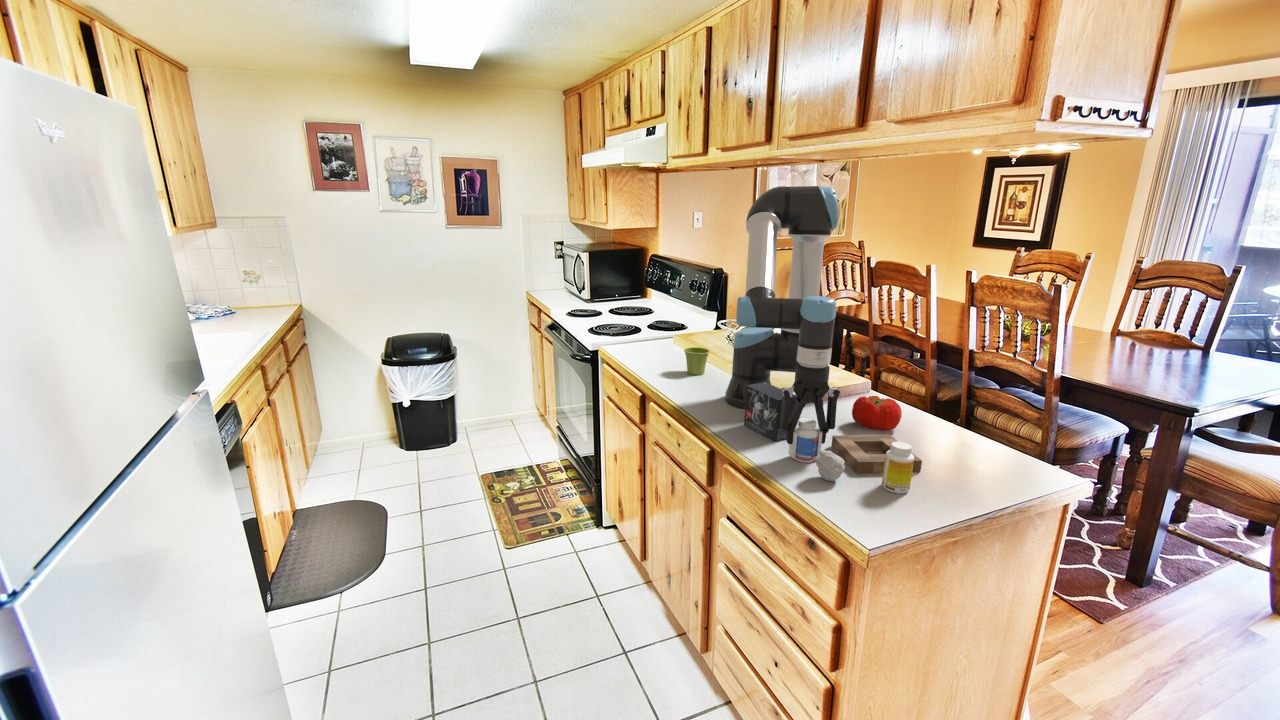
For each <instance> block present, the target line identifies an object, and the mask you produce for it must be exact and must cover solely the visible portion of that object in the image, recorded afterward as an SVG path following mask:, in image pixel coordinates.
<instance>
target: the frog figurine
mask: <svg viewBox="0 0 1280 720" xmlns="http://www.w3.org/2000/svg"><path fill="white" fill-rule="evenodd" d="M814 462H815V465H816V467H817V468H818V473H819V474H818V475H820V477H821V478H822V479H823V480H825V481H828V482H832V481H837V480H838V479H839V478H840V477H841V475H842V474H843V473H844V472H845V468H846V466H845V463H846V461H845V460H844V459H843V458H842V457H841V456H840V455H837V454H836V453H834V452H833V451H831V450H824V449H821V451H820V452H819V455H817V456H816V457H815V460H814Z"/></svg>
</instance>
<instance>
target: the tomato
mask: <svg viewBox="0 0 1280 720" xmlns="http://www.w3.org/2000/svg"><path fill="white" fill-rule="evenodd" d="M851 408H852V409H851V416H852V419H853V421H854V422H855V423H857V424H858V425H860V426H861V427H863V428H864V429H867V430H870V431H877V432H887V431H893V430H895V429H896V428H897V427H898V425H899V424H900V422H901V419H902V409H901V405H899V403H898V402H897V401H896V400H895V399H892V398H887V397H886V398H884V397H883V398H881V397H879V396H878V395H868V397H867V396H865V395H864V396H860V397H858V398H857V399H856V400H855V401H854V402H853V405H852V407H851Z"/></svg>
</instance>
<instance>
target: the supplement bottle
mask: <svg viewBox="0 0 1280 720" xmlns="http://www.w3.org/2000/svg"><path fill="white" fill-rule="evenodd" d="M911 452H912V445H911V444H909V443H906V442H904V441H898V442H893V443H892V444H891V449H890V450H888V451H887V452H886V457H885V464H884V471H883V473H882V478H881V479H882V480H881V486H882V488H883V489H884V490H886V491H888V492H890V493H893V494H897V495H898V494H901V495H902V494H906V493H909V491H910V489H911V482H912V476H913V473H912V470H913V464H914V456H913V455H912V454H911Z"/></svg>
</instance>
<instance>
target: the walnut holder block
mask: <svg viewBox="0 0 1280 720" xmlns="http://www.w3.org/2000/svg"><path fill="white" fill-rule="evenodd" d="M893 442H899V441H898V440H897V439H896V438H894V436H892V435H891V434H853V435H851V434H849V435H848V434H847V435H845V434H844V435H843V434H842V435H841V434H840V435H832V438H831V444H830V445H831V448H832V449H833V450H834V452H836V454H838V456H839V457H841V458H842V459H843V460H844V462H845V463H846V464H847V465H848V466H849V467H850V468H851V469H852V470H853V471H854V472H855V473H856V475H861V474H862V475H863V474H865V475H870V474H871V475H873V474H883V471H884V464H885V457H886V452H887V451H888V450H890V449H891V444H892V443H893ZM867 453H870V454H867ZM871 453H873V454H871ZM876 453H877V454H876ZM878 453H882V454H878ZM911 454H912V455H913V456H914V464H913V470H912V474H913V473H918V474H919V473H921V470H922V464H923V459H921V458H920V457H918V456H917V455H916V454H914V453H913V452H912V451H911Z"/></svg>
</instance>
